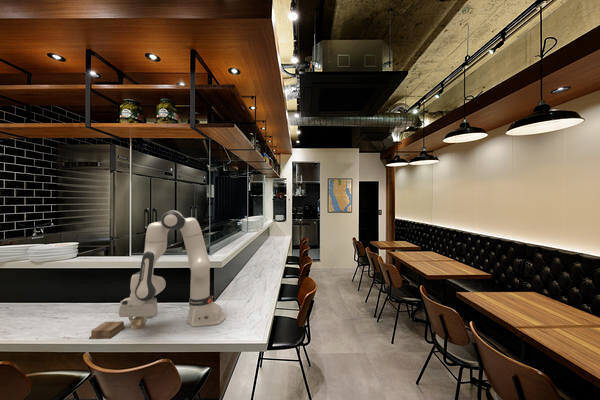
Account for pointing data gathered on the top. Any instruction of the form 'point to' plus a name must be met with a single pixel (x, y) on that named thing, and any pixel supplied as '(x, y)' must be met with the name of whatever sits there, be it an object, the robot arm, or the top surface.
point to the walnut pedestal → (107, 330)
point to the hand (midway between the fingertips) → (138, 323)
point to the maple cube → (137, 323)
